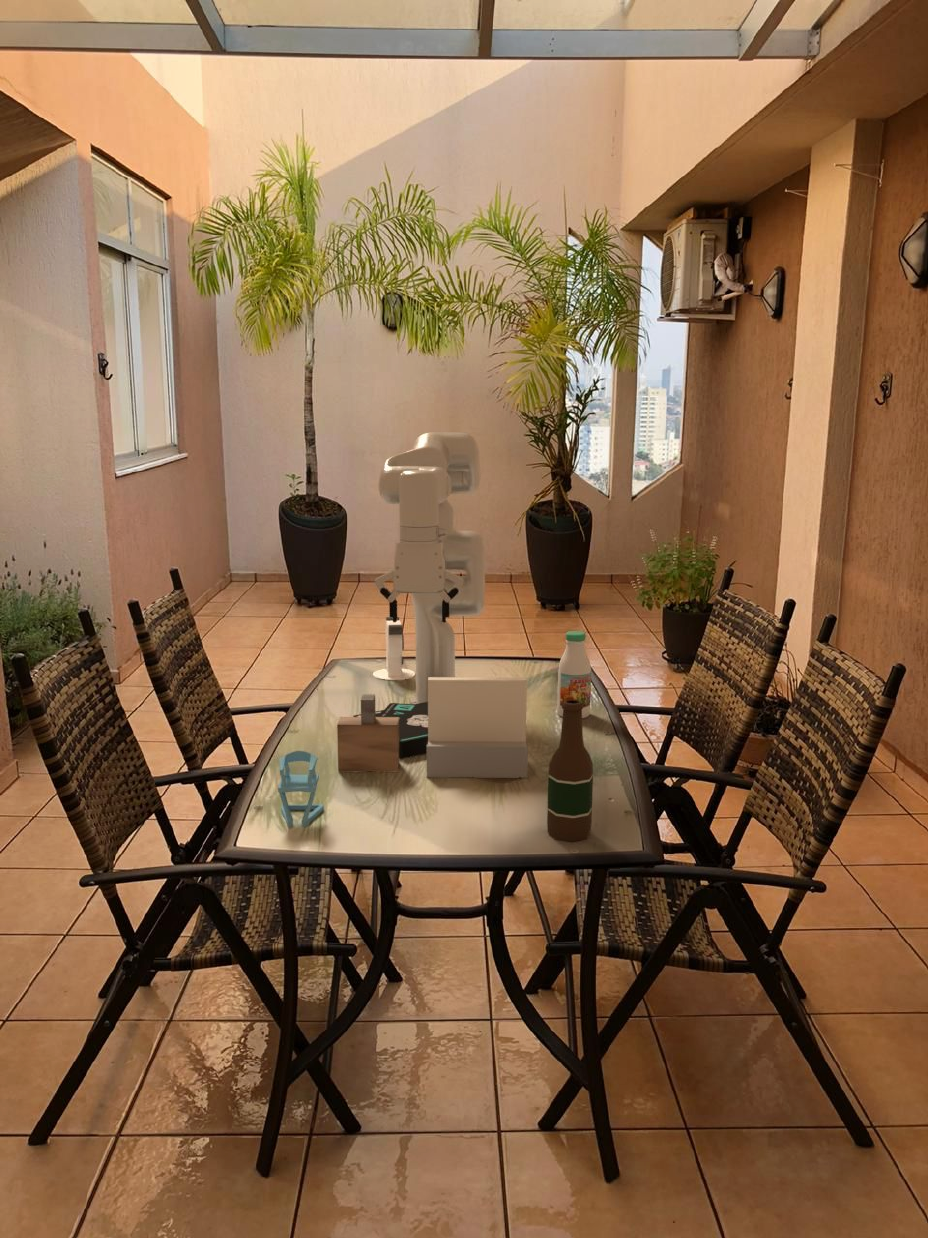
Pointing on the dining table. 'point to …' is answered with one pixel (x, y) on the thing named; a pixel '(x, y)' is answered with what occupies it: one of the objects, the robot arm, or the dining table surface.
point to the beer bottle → (570, 780)
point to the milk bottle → (574, 673)
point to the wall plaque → (409, 727)
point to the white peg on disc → (394, 653)
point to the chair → (299, 787)
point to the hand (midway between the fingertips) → (419, 621)
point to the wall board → (477, 727)
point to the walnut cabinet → (368, 740)
